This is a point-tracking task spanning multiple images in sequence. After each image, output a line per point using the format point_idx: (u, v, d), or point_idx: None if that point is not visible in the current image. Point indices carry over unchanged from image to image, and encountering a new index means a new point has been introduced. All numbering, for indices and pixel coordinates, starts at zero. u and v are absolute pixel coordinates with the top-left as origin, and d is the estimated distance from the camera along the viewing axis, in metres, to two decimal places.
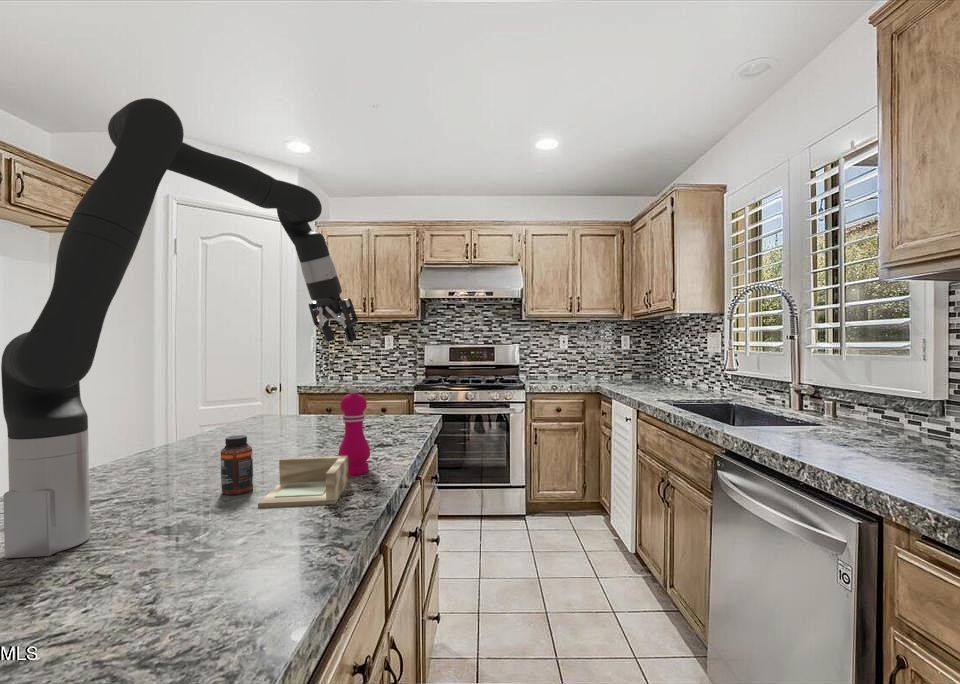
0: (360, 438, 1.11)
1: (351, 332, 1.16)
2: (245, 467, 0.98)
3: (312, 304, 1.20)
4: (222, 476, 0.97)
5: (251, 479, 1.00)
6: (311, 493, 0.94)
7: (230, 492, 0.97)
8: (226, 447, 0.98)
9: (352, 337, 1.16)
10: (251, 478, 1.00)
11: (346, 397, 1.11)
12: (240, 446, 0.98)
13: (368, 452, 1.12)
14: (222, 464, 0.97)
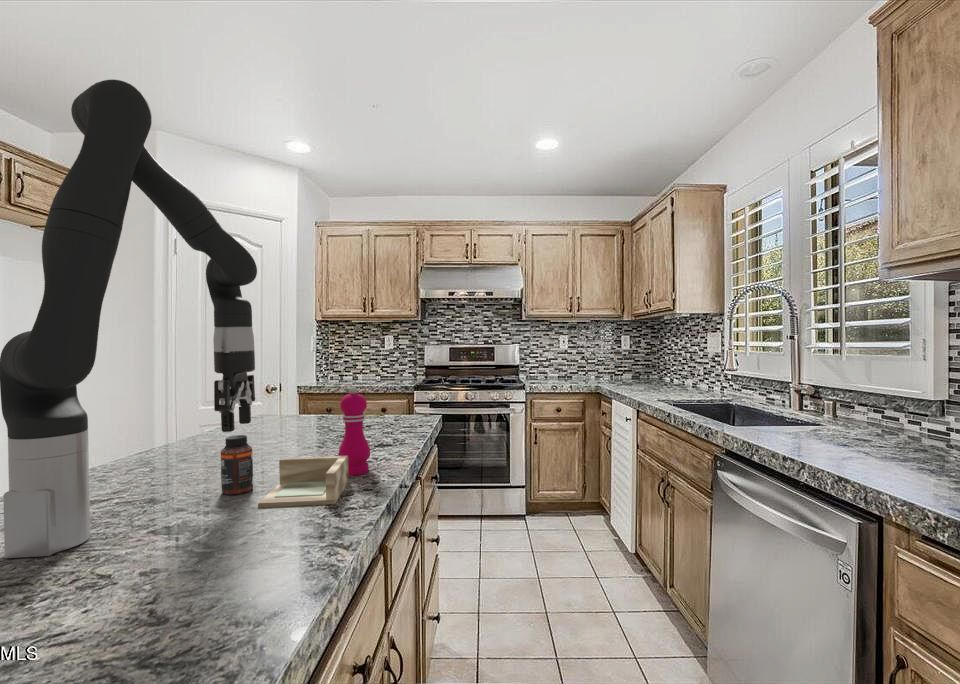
0: (360, 438, 1.11)
1: (224, 421, 0.95)
2: (245, 467, 0.98)
3: None
4: (222, 476, 0.97)
5: (251, 479, 1.00)
6: (311, 493, 0.94)
7: (230, 492, 0.97)
8: (226, 447, 0.98)
9: (223, 427, 0.95)
10: (251, 478, 1.00)
11: (346, 397, 1.11)
12: (240, 446, 0.98)
13: (368, 452, 1.12)
14: (222, 464, 0.97)
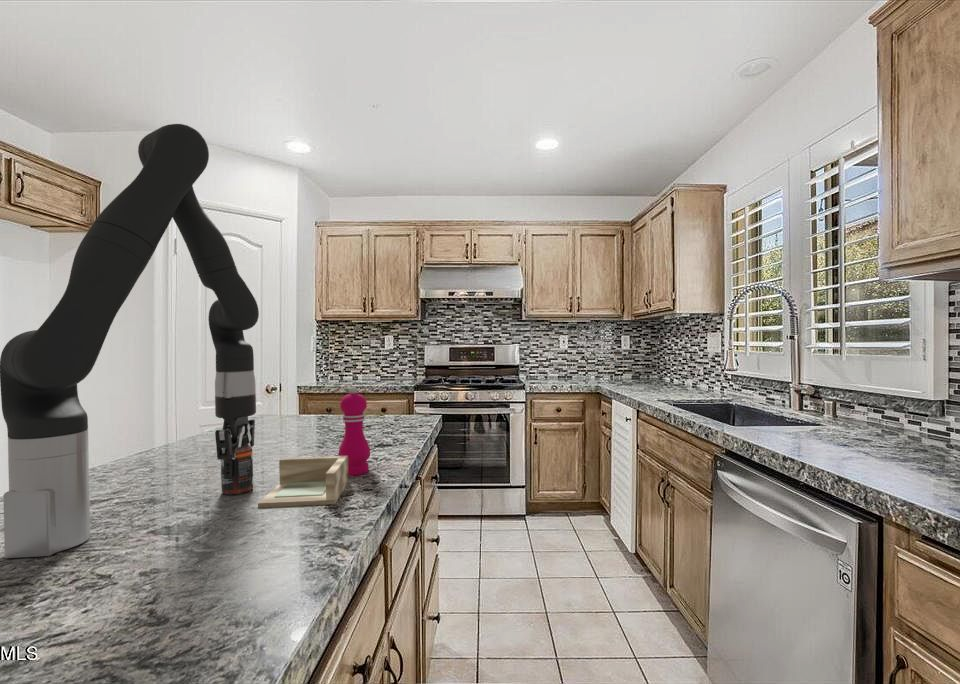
0: (360, 438, 1.11)
1: (226, 468, 0.95)
2: (245, 467, 0.98)
3: None
4: (222, 476, 0.97)
5: (251, 479, 1.00)
6: (311, 493, 0.94)
7: (230, 492, 0.97)
8: None
9: (226, 475, 0.95)
10: (251, 478, 1.00)
11: (346, 397, 1.11)
12: None
13: (368, 452, 1.12)
14: (222, 464, 0.97)
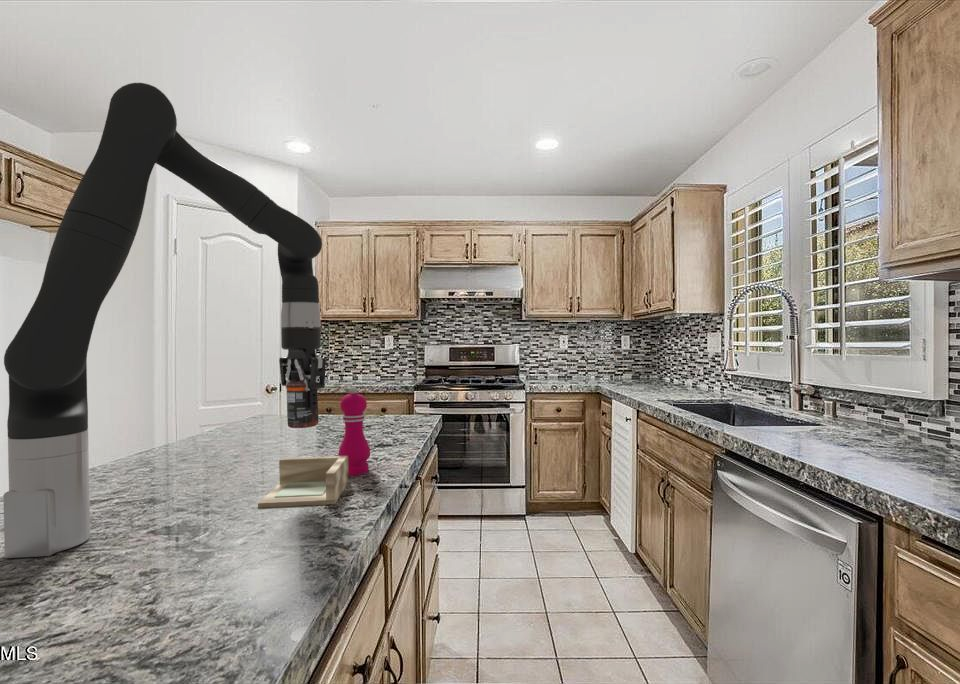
0: (360, 438, 1.11)
1: (312, 399, 0.94)
2: (317, 399, 0.98)
3: (283, 358, 1.00)
4: (298, 409, 0.95)
5: None
6: (311, 493, 0.94)
7: (309, 424, 0.95)
8: (299, 380, 0.95)
9: (312, 405, 0.94)
10: None
11: (346, 397, 1.11)
12: None
13: (368, 452, 1.12)
14: (299, 397, 0.95)
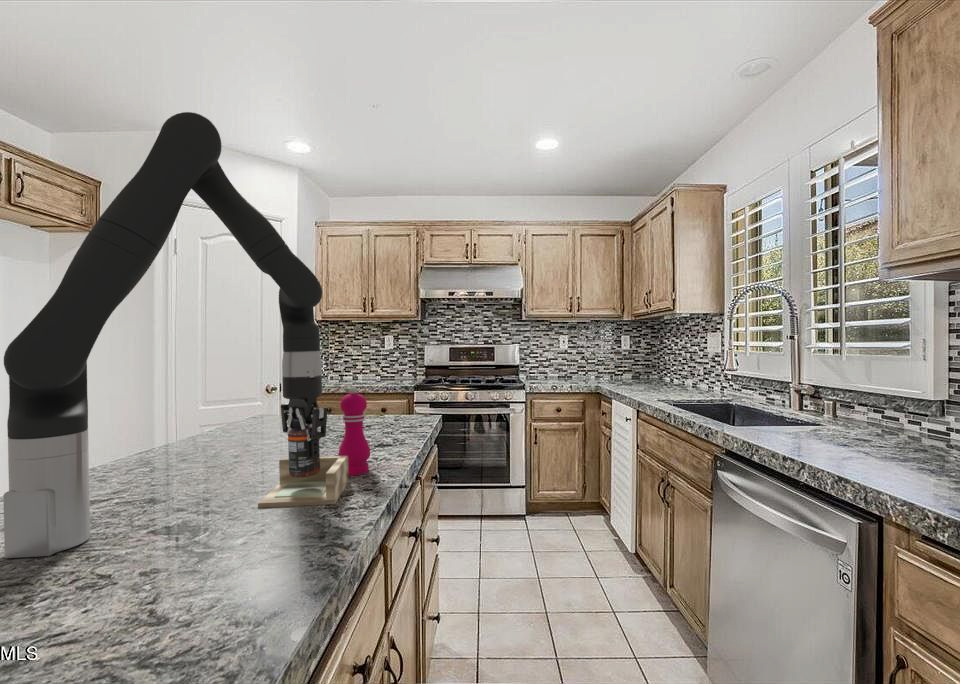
0: (360, 438, 1.11)
1: (314, 448, 0.95)
2: None
3: (284, 405, 1.00)
4: (300, 459, 0.95)
5: None
6: (311, 493, 0.94)
7: (311, 473, 0.96)
8: (300, 429, 0.95)
9: (313, 455, 0.94)
10: None
11: (346, 397, 1.11)
12: None
13: (368, 452, 1.12)
14: (300, 446, 0.95)
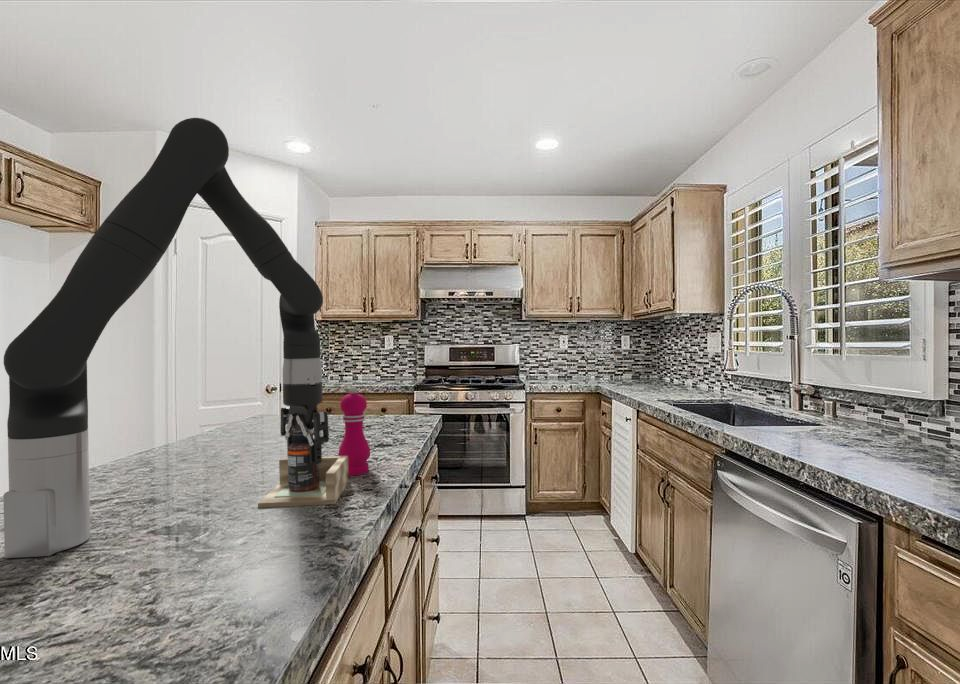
0: (360, 438, 1.11)
1: (317, 453, 0.94)
2: None
3: (285, 409, 1.00)
4: (299, 473, 0.95)
5: None
6: (311, 493, 0.94)
7: (310, 487, 0.96)
8: (300, 443, 0.95)
9: (316, 460, 0.94)
10: None
11: (346, 397, 1.11)
12: None
13: (368, 452, 1.12)
14: (300, 461, 0.95)
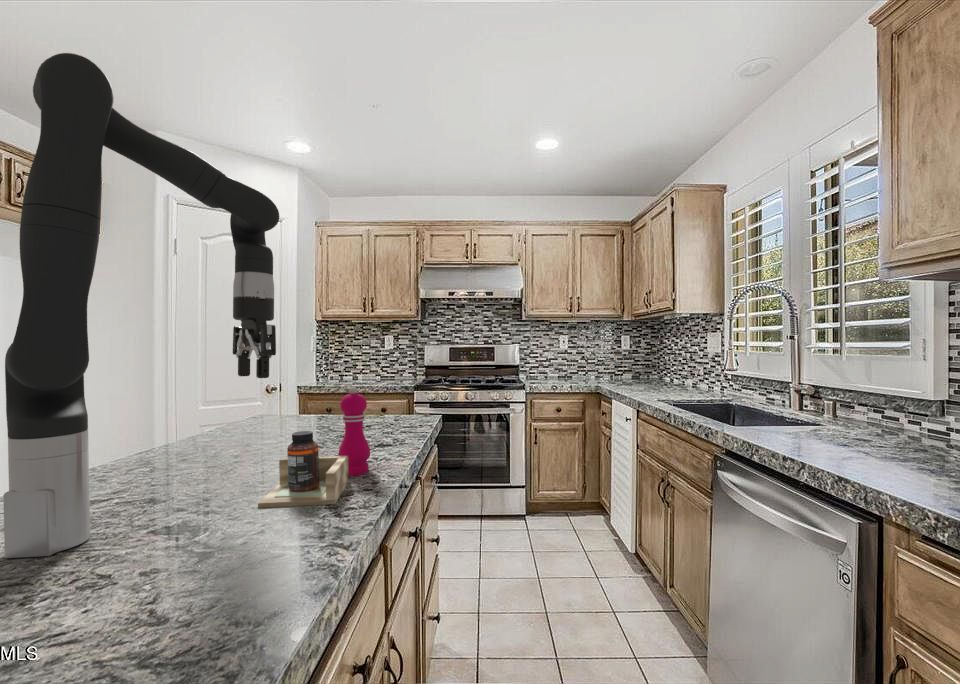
0: (360, 438, 1.11)
1: (263, 366, 0.93)
2: (318, 461, 0.98)
3: (237, 328, 1.00)
4: (299, 473, 0.95)
5: None
6: (311, 493, 0.94)
7: (310, 487, 0.96)
8: (300, 443, 0.95)
9: (263, 373, 0.93)
10: None
11: (346, 397, 1.11)
12: (312, 440, 0.98)
13: (368, 452, 1.12)
14: (300, 461, 0.95)
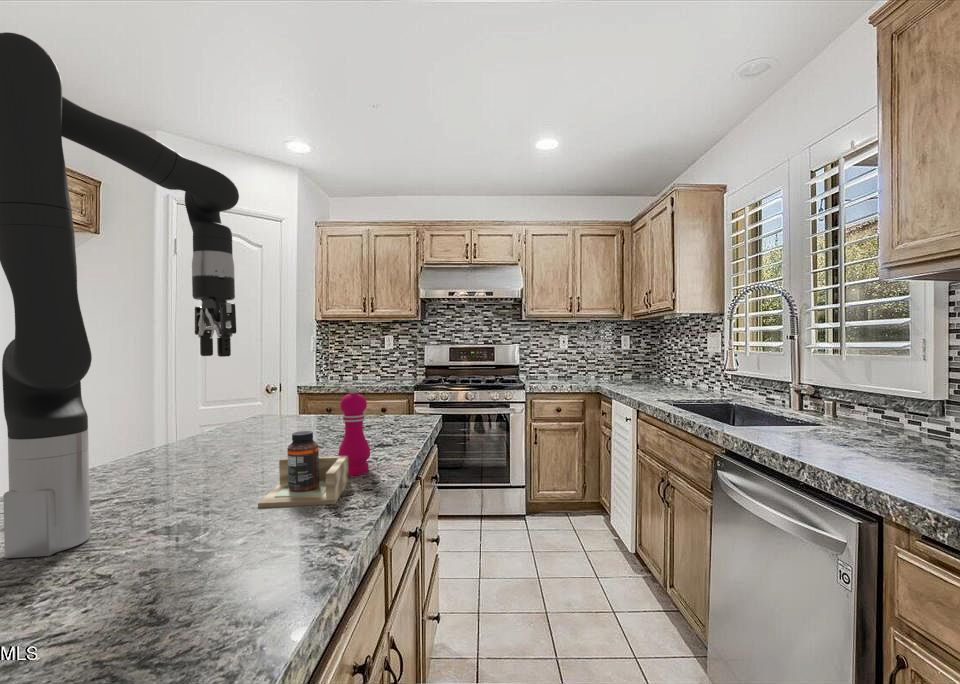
0: (360, 438, 1.11)
1: (224, 345, 0.94)
2: (318, 461, 0.98)
3: (198, 308, 1.00)
4: (299, 473, 0.95)
5: None
6: (311, 493, 0.94)
7: (310, 487, 0.96)
8: (300, 443, 0.95)
9: (224, 351, 0.94)
10: None
11: (346, 397, 1.11)
12: (312, 440, 0.98)
13: (368, 452, 1.12)
14: (300, 461, 0.95)
